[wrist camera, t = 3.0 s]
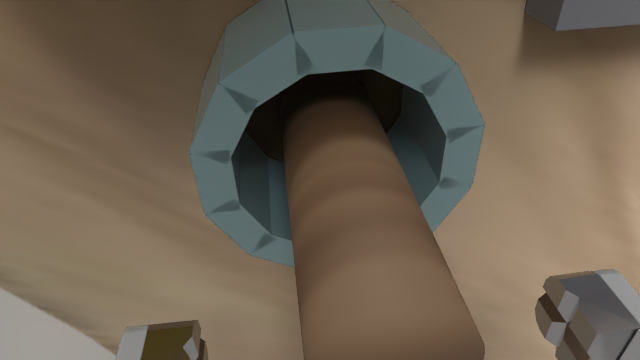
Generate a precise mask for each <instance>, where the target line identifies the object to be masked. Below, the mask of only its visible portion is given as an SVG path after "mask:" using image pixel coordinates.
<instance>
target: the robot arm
mask: <svg viewBox="0 0 640 360" xmlns="http://www.w3.org/2000/svg"><path fill="white" fill-rule="evenodd" d="M543 288H544V290H545V291H546V293H545V294H544V295H543V296H541V297H540V298H539V299H538V301H537V304H536V307H535V314H536V321H537V324H538V326H539V329H540V331H541V333H542V334H543V336H544V338H545V339H547V340H548V341H550V342H551V343H553V344H554V345H556V353H555V356H556V358H557V359H558V360H640V295H639V294H638V293H637V292H636V291H635V289H634V288H633V287H632V286H631V285H630V284H629V283H628V281H627V280H626V279H625V278H624V277H623V276H622V275H621V274H620V273H619V272H618V271H616V270H614V269H604V270H597V271H585V272H577V273H570V274H563V275H556V276H550V277H549V278H547V279H546V280H545V283H544V285H543ZM200 335H201V327H200V324H199V322H198V320H192V321H182V322H171V323H161V324H150V325H142V326H133V327H127V328H126V330H125V331H124V333H123V334H122V338H121V341H120V345H119V348H118V352H117V356H116V359H115V360H208V351H207V346H206V343H205V341H204V340H202V339H201V338H200Z"/></svg>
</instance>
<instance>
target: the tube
mask: <svg viewBox="0 0 640 360" xmlns="http://www.w3.org/2000/svg"><path fill="white" fill-rule="evenodd" d="M364 69H373V70H376V71H378V72H380V73H382V74H384V75H386V76H388V77H390V78H392V79H394V80H396V81H398V82H400V83H402V84H403V92H402V104H401V114H400V115H399V117H398V118H397V119H396V121H395V122H394V124H393V125H392V127H391V128H390V130H389V131H388V133H387V134H386V135H387V137H388V139H389V141H390V144H391V146H392V148H393V150H394V152H395V154H396V156H397V158H398V161H399V163H400V165H401V167H402V169H403V171H404V173H405V176H406V178H407V180H408V182H409V184H410V186H411V188H412V191H413V193H414V195H415V197H416V199H417V201H418V203H419V206H420V208H421V210H422V212H423V214H424V216H425V218H426V220H427V223H428V225H429V227H430V229H431V231H432V233H433V231H434V230H435V229H436V228H437V227H438V225H439V224H440V223H441V222H442V221H443V220H444V218H445V217H446V216H447V215H448V214H449V213H450V211H451V210H452V209H453V208H454V207H455V206H456V204H457V203H458V202H459V201H460V200H461V199H462V197H463V196H464V195H465V194H466V193H467V191H468V190H469V189H470V188H471V186H472V183H473V179H474V174H475V169H476V164H477V160H478V155H479V150H480V146H481V141H482V136H483V131H484V127H485V125H484V124H485V123H484V121H483V119H482V117H481V115H480V112H479V110H478V108H477V106H476V104H475V101H474V99H473V97H472V95H471V93H470V90H469V88H468V86H467V84H466V82H465V79H464V77H463V75H462V73H461V70H460V68H459V66H458V64H457V63H456V62H455V61H454V60H453V59H452V57H451V56H450V55H449V54H448V53H447V52H446V51H445V50H444V49H443V48H442V47H441V46H440V45H439V44H438V43H437V42H436V41H435V40H434V38H433V37H432V36H431V35H430V34H429V33H428V32H427V31H426V30H425V29H424V28H423V27H422V26H421V25H420V24H419V23H418V22H417V21H416V19H415V18H414V17H413V16H412V15H411V14H410V13H409V12H408V11H407V10H405V9H403V8H401V7H399V6H398V5H396V4H394V3H392V2H390V1H389V0H260V1H259V2H258V3H256V4H255V5H253V6H252V7H251V8H249V9H248V10H246V11H245V12H244V13H242V14H241V15H239V16H238V17H237V18H235V19H234V20H232V21H231V22H230V23H228V24H227V26H226V27H225V29H224V32H223V34H222V37H221V39H220V42H219V44H218V47H217V49H216V52H215V54H214V57H213V59H212V62H211V64H210V67H209V69H208V72H207V74H206V77H205V79H204V82H203V86H202V91H201V96H200V101H199V106H198V111H197V116H196V121H195V125H194V130H193V135H192V140H191V145H190V150H189V156H190V160H191V164H192V168H193V172H194V175H195V179H196V183H197V187H198V191H199V195H200V199H201V203H202V207H203V211H204V214H205V216H206V217H208V218H209V219H210V220H211V221H212V222H213V223H214V224H215V225H217V226H218V227H219V228H220V229H221V230H222V231H223V232H224V233H225V234H227V235H228V236H229V237H230V238H231V239H232V240H233V241H234V242H236V243H237V244H238V245H239V246H240V247H241V248H242V249H243V250H245V251H246V252H247V253H248V254H249V255H250V254H251V256H254V257H258V258H262V259H265V260H269V261H273V262H277V263H280V264H284V265H288V266H292V267H295V265H294V255H293V246H292V236H291V226H290V216H289V206H288V197H287V187H286V177H285V167H284V163H283V162H280V161H278V160H275V159H272V158H269V157H267V156H266V154H265V153H264V152H263V151H262V150H261V149H260V148H259V147H258V145H257V144H256V143H255V142H254V141H253V140H252V139H251V137H250V136H249V135H248V134H247V133H246V132H245V131H244V129H245V127H246V125H247V123H248V121H249V119H250V117H251V115H252V112H253V110H254V109H255V108H256V107H258V106H259V105H261V104H262V103H264V102H266V101H267V100H269V99H270V98H272V97H273V96H275V95H276V94H278V93H279V92H281V91H282V90H284V89H286V88H287V87H289V86H290V85H292V84H293V83H295V82H296V81H298V80H299V79H301V78H302V77H304V76H306V75H307V74H317V73H329V72H341V71H353V70H364Z"/></svg>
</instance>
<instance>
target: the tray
mask: <svg viewBox="0 0 640 360" xmlns="http://www.w3.org/2000/svg"><path fill="white" fill-rule="evenodd" d="M525 13H527V14H528V15H530V16H531V17H533V18H535V19H536V20H538V21H540V22H541V23H543V24H545V25H546V26H548V27H550V28H551V29H553V30H555V31H563V30H575V29H588V28H600V27H613V26H625V25H638V24H640V0H527V5H526V9H525Z"/></svg>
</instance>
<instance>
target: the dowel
mask: <svg viewBox="0 0 640 360" xmlns="http://www.w3.org/2000/svg"><path fill="white" fill-rule="evenodd" d="M278 109H279V118H280V128H281V138H282V148H283V158H284V167H285V177H286V187H287V197H288V206H289V216H290V226H291V236H292V246H293V255H294V265H295V275H296V285H297V294H298V304H299V314H300V324H301V334H302V343H303V353H304V360H483V359H484V355H485V347H484V343H483V340H482V338H481V336H480V334H479V332H478V330H477V327H476V325H475V323H474V321H473V319H472V317H471V315H470V312H469V310H468V308H467V306H466V304H465V302H464V300H463V297H462V295H461V293H460V291H459V289H458V287H457V285H456V282H455V280H454V278H453V276H452V274H451V272H450V270H449V268H448V265H447V263H446V261H445V259H444V257H443V255H442V253H441V250H440V248H439V246H438V244H437V242H436V240H435V238H434V235H433V233H432V231H431V229H430V227H429V225H428V223H427V220H426V218H425V216H424V214H423V212H422V210H421V208H420V206H419V203H418V201H417V199H416V197H415V195H414V193H413V191H412V188H411V186H410V184H409V182H408V180H407V178H406V176H405V173H404V171H403V169H402V167H401V165H400V163H399V161H398V158H397V156H396V154H395V152H394V150H393V148H392V146H391V144H390V141H389V139H388V137H387V135H386V133H385V131H384V129H383V126H382V124H381V122H380V120H379V118H378V116H377V114H376V111H375V109H374V107H373V105H372V103H371V101H370V99H369V96H368V94H367V92H366V90H365V88H364V86H363V84H362V82H361V80H360V78H359V76H358V75H357V73H356V72H355V71H354V70H353V71H341V72H329V73H317V74H307V75H306V76H304V77H302V78H301V79H299V80H298V81H296V82H295V83H293V84H292V85H290V86H289V87H287V88H286V89H284V90H282V91H281V92H279V95H278Z"/></svg>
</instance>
